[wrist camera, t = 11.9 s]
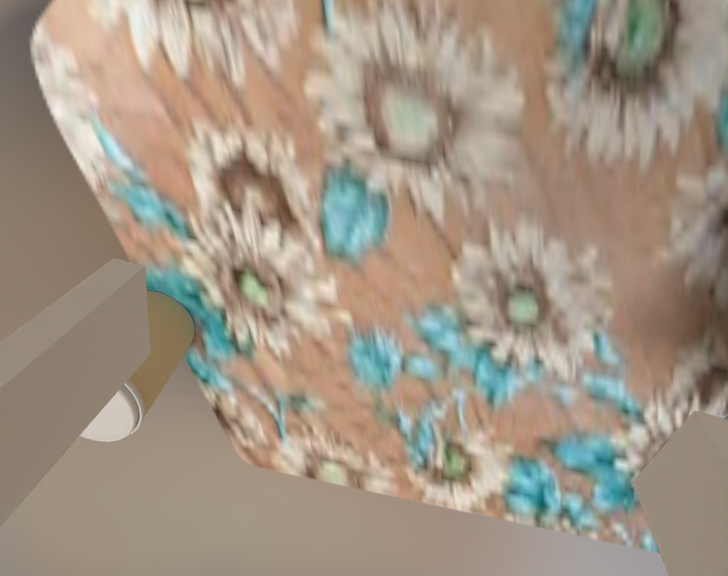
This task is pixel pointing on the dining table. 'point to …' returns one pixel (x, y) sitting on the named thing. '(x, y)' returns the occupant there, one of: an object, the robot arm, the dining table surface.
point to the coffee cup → (146, 370)
